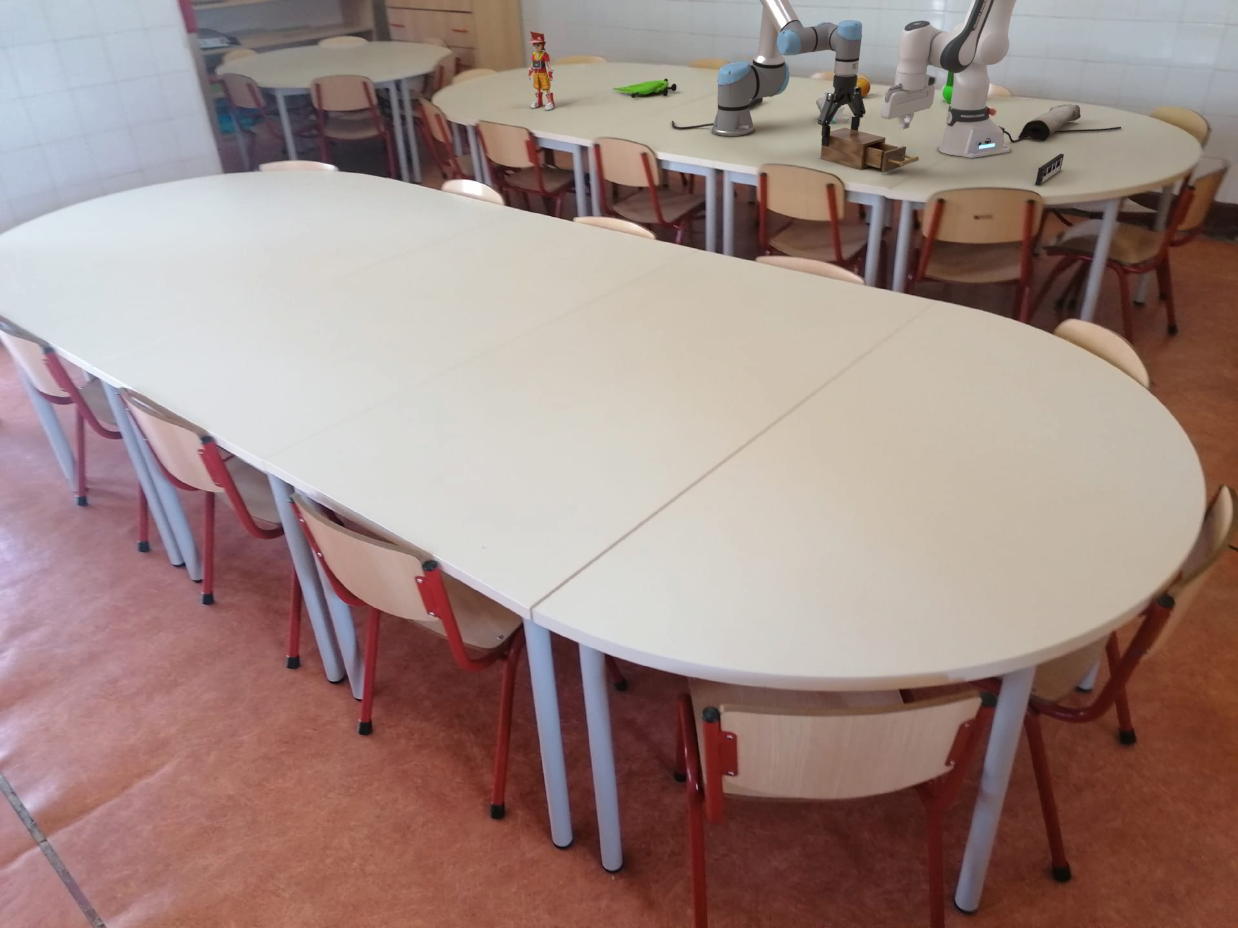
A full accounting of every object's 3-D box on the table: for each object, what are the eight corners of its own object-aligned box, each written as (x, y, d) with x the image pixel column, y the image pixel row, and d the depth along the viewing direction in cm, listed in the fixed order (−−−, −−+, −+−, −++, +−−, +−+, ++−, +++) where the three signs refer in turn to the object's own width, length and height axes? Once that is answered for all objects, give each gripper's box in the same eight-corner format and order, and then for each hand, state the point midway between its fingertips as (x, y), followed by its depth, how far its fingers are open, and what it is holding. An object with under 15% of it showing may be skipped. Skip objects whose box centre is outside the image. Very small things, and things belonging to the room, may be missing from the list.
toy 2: (686, 85, 398) (631, 84, 414) (685, 72, 395) (629, 72, 411) (651, 104, 381) (596, 103, 397) (650, 92, 378) (594, 91, 394)
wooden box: (882, 162, 296) (885, 137, 291) (860, 169, 291) (863, 144, 286) (842, 152, 308) (844, 127, 303) (820, 158, 303) (822, 133, 299)
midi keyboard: (1039, 185, 269) (1043, 168, 266) (1035, 184, 270) (1038, 168, 267) (1060, 170, 279) (1064, 154, 277) (1056, 169, 280) (1060, 153, 277)
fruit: (843, 89, 366) (855, 71, 363) (846, 93, 374) (858, 75, 371) (860, 101, 365) (872, 82, 362) (862, 104, 373) (874, 86, 369)
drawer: (919, 170, 285) (921, 150, 281) (899, 176, 280) (901, 156, 277) (864, 155, 300) (866, 136, 297) (845, 161, 296) (847, 142, 292)
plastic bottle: (973, 101, 354) (984, 32, 339) (955, 106, 349) (966, 36, 335) (952, 97, 361) (962, 29, 346) (934, 102, 356) (944, 33, 342)
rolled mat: (1047, 109, 327) (1072, 92, 319) (1061, 130, 327) (1086, 113, 319) (1014, 132, 309) (1039, 114, 301) (1028, 154, 310) (1054, 137, 302)
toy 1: (525, 109, 381) (517, 32, 364) (534, 104, 388) (527, 28, 371) (550, 110, 377) (543, 32, 360) (559, 105, 384) (553, 28, 367)
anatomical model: (811, 92, 345) (837, 85, 344) (814, 119, 351) (839, 112, 350) (821, 101, 332) (848, 94, 332) (824, 129, 338) (850, 122, 337)
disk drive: (747, 111, 360) (763, 102, 370) (747, 104, 359) (763, 95, 369) (724, 109, 365) (740, 100, 375) (724, 101, 363) (740, 93, 373)
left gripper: (826, 83, 280) (821, 151, 293) (881, 69, 292) (873, 136, 304) (809, 79, 285) (804, 147, 298) (863, 66, 297) (856, 132, 309)
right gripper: (895, 89, 263) (889, 137, 271) (940, 77, 272) (933, 124, 280) (878, 85, 267) (873, 133, 275) (923, 74, 277) (917, 120, 285)
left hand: (839, 141), depth 301 cm, fingers open, 13 cm apart
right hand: (904, 128), depth 278 cm, fingers closed
